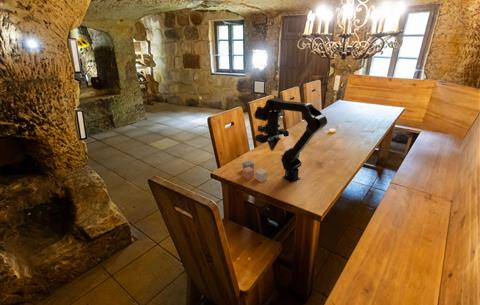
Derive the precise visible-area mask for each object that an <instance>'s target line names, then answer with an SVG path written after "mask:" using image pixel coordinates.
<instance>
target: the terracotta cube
mask: <svg viewBox="0 0 480 305" xmlns="http://www.w3.org/2000/svg"><path fill="white" fill-rule="evenodd" d="M241 174H242V177H243V178H244V179H245V180H247V181H248V180H250V179H254V178H255V168H254V169H252V168H251V167H247V168H244V169H243V168H242V173H241Z"/></svg>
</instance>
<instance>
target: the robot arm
mask: <svg viewBox="0 0 480 305" xmlns="http://www.w3.org/2000/svg"><path fill="white" fill-rule="evenodd" d="M281 110H282V111H290V112H297V113H302V116H303V118H304V120H305V123H307V124H306V127H305V130H304V132H303V133H302V135H301V136H300V137H299V139H298V140H297V142H296V143H295V144H294V145H293V147H290V148H288V149H286V150H284V152H283V154H282V155H281V159H280V161H281V164H282V168H283V170H284V176H282V178H283V179H285V180H286V181H288V182H289V183H293V182H297V181H298V180H301V177H299V170H300V169H299V168H300V167H301V166H302V161H301V160H300V159H299V158H300V154H301V152H302V151H303V149H304V148H305V147H306V146H307V144H309V142H310V141H311V140H312V138H313V137H314V136H315V135H316V134H317V133H318V132H320V131H321V130H322V129H323V128H324V127H326V126H327V124H328V120H327V117H326V116H325V115H324V114H323V113H322V112H321V111H320V110H319V109H318V108H316V107H315V106H314V105H313V104H312V103H311V102H300V101H299V102H298V101H288V100H285V99H282V98H280V97H273V98H269V99H267V100H266V101H265V105H263V107H262V106H260V105H259V106H257V107H256V110H255V111H254V114H253V116H254V119H256V120H259V121H263V122H266V123H265V125H264V126H263V125H262V124H261V125H258V126H257V131H258V132H259V133H260V134H259V133H258V134H256V135H255V136H254V140H255V141H256V142H258V143H260V144H265V143H267V144H268V147H269V149H270V151H274V150H275V147H276V146H277V145H278V143H279V141H280V140H281V137H280V136H281V135H283V137H284V138H286V137H289V136H290V131H289V130H287V129H285V128H281V125H280V124H279V119H280V117H281V116H282V115H283V113H282V112H281ZM263 133H264V134H263Z"/></svg>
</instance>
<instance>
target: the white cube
mask: <svg viewBox="0 0 480 305" xmlns="http://www.w3.org/2000/svg"><path fill="white" fill-rule="evenodd" d="M254 178H255V180H256V181H258V182H259V183H262V182H264V181H265V182H266V180H268V171H266V170H265V169H263V168H260V169H256V170H254Z"/></svg>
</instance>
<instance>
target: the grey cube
mask: <svg viewBox="0 0 480 305" xmlns="http://www.w3.org/2000/svg"><path fill="white" fill-rule="evenodd" d="M247 167H251V168H252V169H254V170H255V163H254V162H252V161H251V160H246V161H243V162H242V169H244V168H247Z"/></svg>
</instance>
